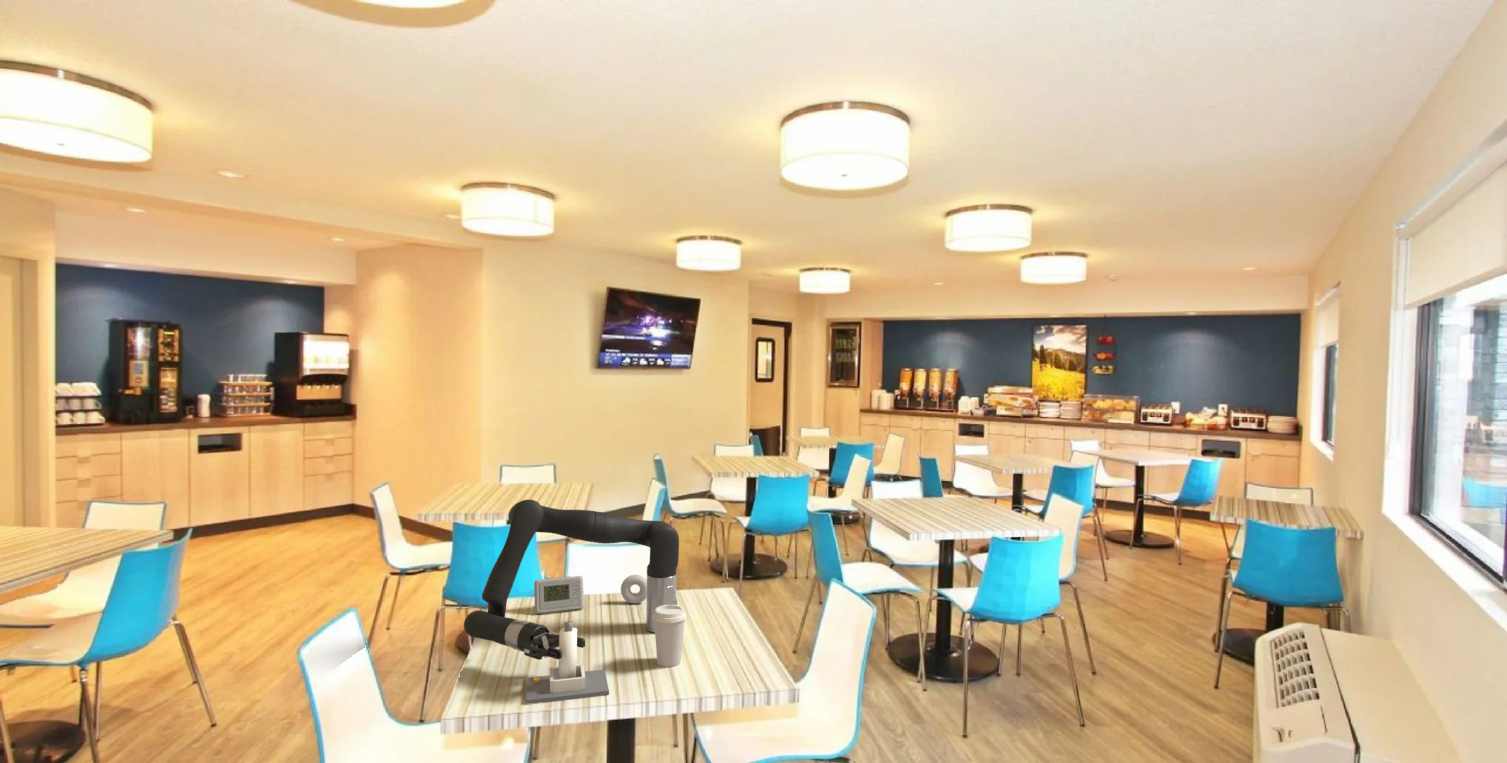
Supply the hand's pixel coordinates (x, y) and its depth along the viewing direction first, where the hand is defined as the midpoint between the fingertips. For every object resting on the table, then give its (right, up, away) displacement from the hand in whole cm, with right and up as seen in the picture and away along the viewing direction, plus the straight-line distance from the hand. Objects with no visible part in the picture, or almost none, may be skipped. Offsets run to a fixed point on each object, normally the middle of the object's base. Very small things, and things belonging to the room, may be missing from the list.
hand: (573, 649), depth 185 cm
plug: (-2, -9, +1) cm, 10 cm away
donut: (+5, -9, +66) cm, 67 cm away
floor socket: (-2, -10, +1) cm, 11 cm away
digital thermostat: (-19, -9, +58) cm, 62 cm away
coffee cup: (+22, -10, +18) cm, 31 cm away
